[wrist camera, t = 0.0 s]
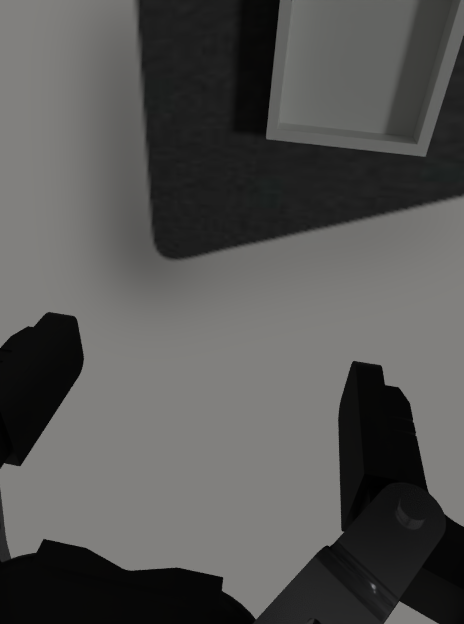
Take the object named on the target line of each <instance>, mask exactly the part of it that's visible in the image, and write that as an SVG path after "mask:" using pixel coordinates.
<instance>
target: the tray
mask: <svg viewBox="0 0 464 624" xmlns="http://www.w3.org/2000/svg"><path fill="white" fill-rule="evenodd" d="M463 35H464V0H280V6H279V16H278V26H277V35H276V45H275V55H274V65H273V74H272V84H271V94H270V104H269V113H268V123H267V133H266V139H271V140H280V141H289V142H298V143H307V144H316V145H325V146H334V147H343V148H352V149H361V150H370V151H379V152H388V153H397V154H406V155H415V156H424V157H425V156H426V153H427V149H428V146H429V143H430V140H431V137H432V133H433V130H434V127H435V124H436V121H437V118H438V114H439V111H440V108H441V105H442V102H443V98H444V95H445V92H446V89H447V86H448V82H449V79H450V76H451V73H452V70H453V66H454V63H455V60H456V57H457V54H458V51H459V47H460V44H461V41H462V38H463Z"/></svg>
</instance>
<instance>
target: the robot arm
mask: <svg viewBox="0 0 464 624" xmlns="http://www.w3.org/2000/svg"><path fill="white" fill-rule="evenodd" d="M83 361H84V356H83V349H82V344H81V339H80V333H79V327H78V322H77V319H76V318H75V317H74V316H70V315H64V314H58V313H51V312H48V313H46V314H45V315H44V316H43V317H42V318H41V319H40V321H39V322H38V323H37V324H36V325H35V326H34V327H29V326H28V327H26V328H24V329H23V330H21V331H19V332H18V333H16V334H14V335H12V336H11V337H10V338H9V339H8V340H7V341H6V342H5V343H4V345H3V346H2V347H1V348H0V468H1V467H2V465H3V464H4V463H6V464H11V465H16V466H21V464H22V463H23V461H24V460H25V458H26V457H27V455H28V454H29V452H30V451H31V449H32V447H33V446H34V444H35V443H36V441H37V440H38V438H39V437H40V435H41V434H42V432H43V431H44V429H45V428H46V426H47V424H48V423H49V421H50V420H51V418H52V417H53V415H54V414H55V412H56V411H57V409H58V407H59V406H60V404H61V403H62V401H63V400H64V398H65V397H66V395H67V394H68V392H69V391H70V389H71V387H72V386H73V384H74V383H75V381H76V380H77V378H78V376H79V375H80V373H81V370H82V367H83ZM338 424H339V425H338V426H339V458H340V459H339V461H340V495H341V528H342V531H344V533H343V534H342V535H341V536H340V537H339V538H338V540H337V541H336V542H335V543H334V544H333V545H331V546H330V547H329V546H325V547H323V548H322V549H321V550H320V551H319V552H318V553H317V554H316V555H315V556H314V557H313V558H312V559H311V560H310V561H309V563H308V564H307V565H306V566H305V567H304V568H303V569H302V570H301V571H300V572H299V573H298V575H297V576H296V577H295V578H294V579H293V580H292V581H291V582H290V583H289V584H288V585H287V587H286V588H285V589H284V590H283V591H282V592H281V593H280V594H279V595H278V596H277V598H276V599H275V600H274V601H273V602H272V603H271V604H270V605H269V606H268V607H267V608H266V610H265V611H264V612H263V613H262V614H261V615H260V616H259V617H258V618H257V619H255V618H254V617H253V615H252V614H251V613H250V612H249V611H248V610H247V609H246V608H245V607H244V606H243V605H242V604H241V603H239V602H238V601H237V600H235V599H234V598H233V597H231V596H230V595H228V594H226V593H224V592H223V591H222V583H223V577H219V576H214V575H209V574H205V573H200V572H195V571H190V570H186V569H181V568H166V569H150V570H135V571H128V570H125V569H122V568H121V567H119V566H117V565H115V564H113V563H112V562H110V561H108V560H106V559H105V558H103V557H101V556H99V555H98V554H96V553H94V552H92V551H90V550H88V549H87V548H83V547H79V546H74V545H69V544H64V543H60V542H55V541H51V540H46V539H43V541H42V543H41V545H40V547H39V549H38V551H37V553H32V554H26V555H22V556H18V557H15V558H12V559H11V556H10V553H9V549H8V545H7V541H6V535H5V527H4V517H3V509H2V500H1V492H0V624H384V622H385V621H386V620H387V618H388V617H389V615H390V614H391V612H392V611H393V610H394V608H395V607H396V605H397V604H398V602H399V601H400V602H402V603H404V604H406V605H407V606H409V607H411V608H413V609H414V610H416V611H418V612H419V613H421V614H423V615H425V616H426V617H428V618H430V619H432V620H433V621H435V622H437V623H439V624H464V527H463V526H461V525H459V524H458V523H456V522H454V521H453V520H451V519H450V518H449V517H447V516H446V515H445V514H444V512H443V510H442V508H441V507H440V505H439V504H438V502H437V501H436V500H435V499H434V498H433V497H432V496H431V495H430V494H429V492H428V489H427V485H426V480H425V475H424V470H423V465H422V461H421V456H420V451H419V446H418V441H417V437H416V436H415V435H416V431H415V427H414V423H413V417H412V412H411V407H410V403H409V401H408V400H407V398H406V397H405V396H404V394H403V393H402V391H401V390H400V389H399V388H398V387H393V386H387V385H385V383H384V376H383V370H382V366H381V365H375V364H369V363H363V362H357V361H353V362H352V364H351V367H350V371H349V374H348V378H347V381H346V384H345V388H344V391H343V394H342V398H341V402H340V408H339V417H338Z"/></svg>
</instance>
